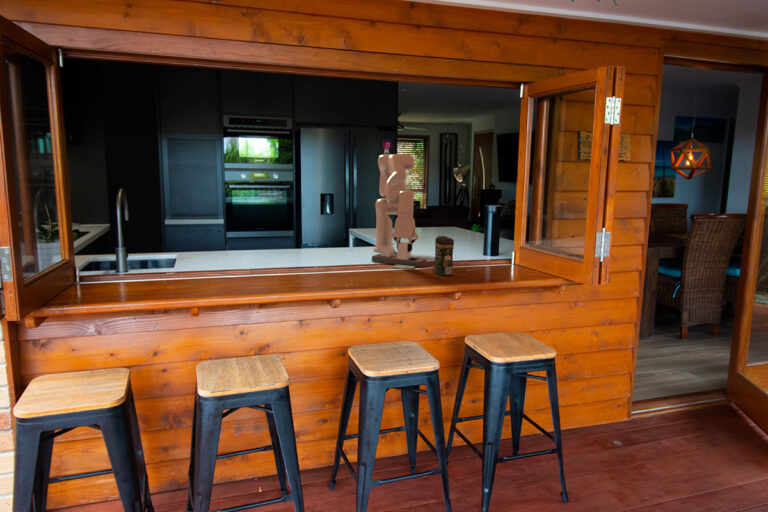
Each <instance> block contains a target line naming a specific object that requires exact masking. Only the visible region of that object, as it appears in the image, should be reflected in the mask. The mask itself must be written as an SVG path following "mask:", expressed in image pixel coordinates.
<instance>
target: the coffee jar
mask: <svg viewBox="0 0 768 512" xmlns="http://www.w3.org/2000/svg"><path fill="white" fill-rule="evenodd" d="M454 242H455V241H454V239H453V238H450V237H448V236H445V235H438V236H436V238H435V241H434V246H435V251H434V253H435V254H434V265H433V273H435V274H436V275H439V276H444V277H445V276H446V277H448V276H451V275H453V257H454V256H453V255H454V244H455V243H454ZM447 275H448V276H447Z"/></svg>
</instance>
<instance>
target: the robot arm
mask: <svg viewBox="0 0 768 512" xmlns="http://www.w3.org/2000/svg"><path fill="white" fill-rule="evenodd" d="M377 166H378V169H379V173H380V174H379V187H378V190H379V191H378V192H379V195H380V196H381V197H382V198H378V199H377V200H376V201H375V206H374V207H375V215H376V222H375V223H376V225H375V226H376V227H375V229H376V230H375V247H373V249H372V250H373V252H377V253H381V247H384V246H389V247H394V246H393V245H394V243H393V241H395V244H396V251H397V252H398V243H400V242H401V239H407V240H408V242H409V244H408V252H411V253H412V250H413V245H414V243H415V242H416V241H417V240H419V239H420V237H419V235H418V234H417V232H416V222H415V221H416V220H415V218H414V205H415V203H414V202H415V199H414V197H415V193H414V191H413V190H410V189H407V186H406V183H405V182H404V181H405V180H406V179H407V172H406V171H412V170H413V169H414V167H415V159H414V157H413V156H412V155H411V154H406V153H405V154H403V153H393V154H392V153H391V154H387V153H385V154H381V155H379V156H378V159H377ZM389 215H395V216H397V217H396V218H395V222H394V223H395V224H394V229H393V221H392V218H391V217H390V216H389ZM392 240H393V241H392Z"/></svg>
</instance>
